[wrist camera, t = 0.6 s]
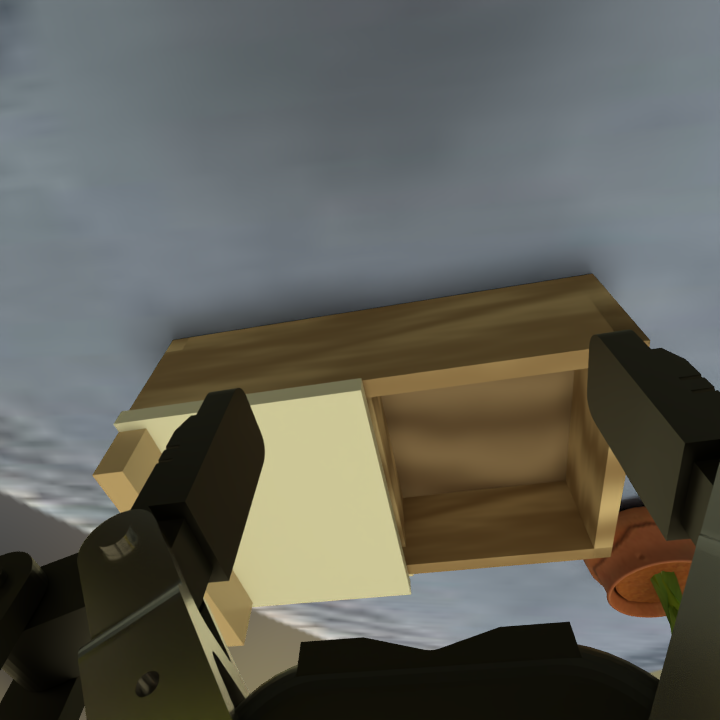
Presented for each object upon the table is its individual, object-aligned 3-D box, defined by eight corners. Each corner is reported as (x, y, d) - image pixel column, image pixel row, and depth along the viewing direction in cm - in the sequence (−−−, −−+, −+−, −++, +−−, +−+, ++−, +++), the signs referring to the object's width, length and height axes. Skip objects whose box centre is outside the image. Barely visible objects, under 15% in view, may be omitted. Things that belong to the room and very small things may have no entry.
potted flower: (569, 494, 41) (760, 957, 21) (696, 470, 39) (1045, 958, 19) (580, 569, 48) (735, 978, 27) (690, 551, 46) (946, 981, 25)
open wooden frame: (172, 340, 33) (127, 413, 27) (592, 273, 29) (650, 340, 23) (256, 508, 43) (237, 588, 37) (574, 474, 40) (610, 557, 34)
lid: (121, 411, 26) (86, 466, 23) (361, 377, 25) (359, 432, 21) (238, 595, 37) (225, 650, 34) (410, 580, 35) (413, 637, 32)
